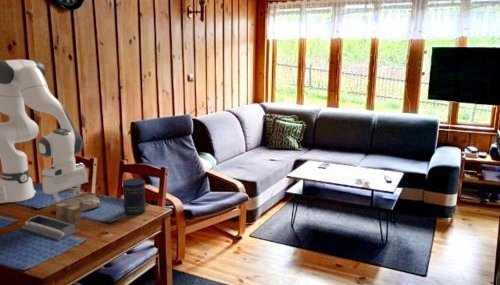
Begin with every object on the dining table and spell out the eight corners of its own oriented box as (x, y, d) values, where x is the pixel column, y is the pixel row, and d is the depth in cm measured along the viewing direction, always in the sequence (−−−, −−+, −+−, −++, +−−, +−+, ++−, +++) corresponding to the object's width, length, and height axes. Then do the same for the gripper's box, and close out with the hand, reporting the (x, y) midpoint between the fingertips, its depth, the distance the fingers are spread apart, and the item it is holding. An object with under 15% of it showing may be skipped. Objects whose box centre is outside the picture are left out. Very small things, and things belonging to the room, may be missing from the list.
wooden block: (55, 220, 179) (53, 205, 177) (62, 217, 182) (61, 202, 180) (74, 225, 173) (73, 210, 172) (81, 222, 177) (80, 207, 175)
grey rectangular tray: (22, 228, 169) (21, 221, 168) (43, 220, 178) (42, 213, 177) (58, 240, 160) (57, 232, 159) (79, 230, 168) (78, 223, 168)
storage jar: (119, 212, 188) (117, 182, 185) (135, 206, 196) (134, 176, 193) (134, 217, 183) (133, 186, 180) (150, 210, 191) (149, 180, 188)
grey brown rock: (59, 217, 182) (103, 207, 194) (57, 207, 181) (103, 198, 193) (52, 208, 193) (95, 199, 205) (51, 199, 192) (94, 190, 204)
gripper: (79, 160, 183) (81, 190, 186) (38, 172, 165) (42, 204, 168) (89, 162, 180) (91, 192, 183) (49, 174, 162) (52, 206, 165)
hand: (67, 198), depth 176 cm, fingers open, 8 cm apart
